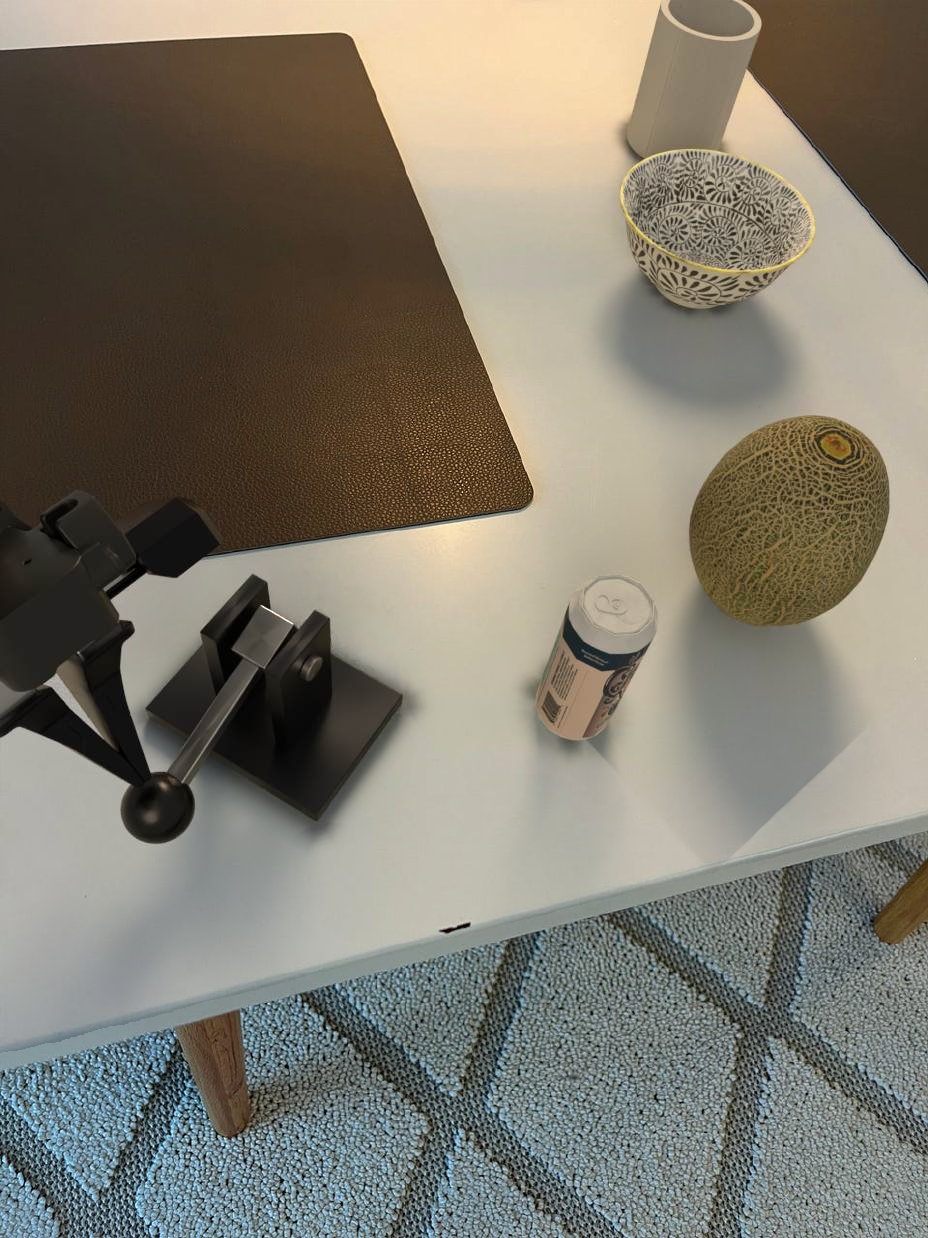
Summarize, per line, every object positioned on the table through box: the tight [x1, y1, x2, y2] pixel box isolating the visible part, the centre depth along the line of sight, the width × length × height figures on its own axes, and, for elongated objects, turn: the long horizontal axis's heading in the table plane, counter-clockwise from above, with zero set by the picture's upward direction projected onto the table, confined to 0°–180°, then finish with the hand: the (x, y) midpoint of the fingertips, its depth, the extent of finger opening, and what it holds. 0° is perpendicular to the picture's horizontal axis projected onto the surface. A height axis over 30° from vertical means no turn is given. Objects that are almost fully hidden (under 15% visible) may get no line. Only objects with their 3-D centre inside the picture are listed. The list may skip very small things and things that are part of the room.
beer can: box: [534, 573, 659, 741], centre depth 54 cm, size 5×5×12 cm
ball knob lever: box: [120, 605, 299, 845], centre depth 49 cm, size 13×4×4 cm, turn 150°
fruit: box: [688, 414, 891, 627], centre depth 59 cm, size 11×11×15 cm
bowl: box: [619, 149, 816, 310], centre depth 79 cm, size 16×16×8 cm
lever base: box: [144, 573, 403, 823], centre depth 53 cm, size 9×12×10 cm
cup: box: [626, 0, 763, 160], centre depth 89 cm, size 9×9×12 cm
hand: (142, 782), depth 45 cm, fingers closed
